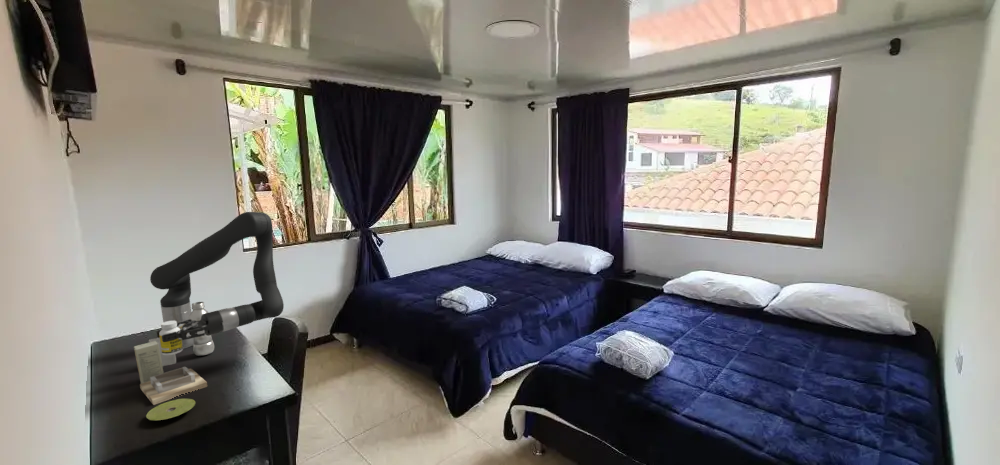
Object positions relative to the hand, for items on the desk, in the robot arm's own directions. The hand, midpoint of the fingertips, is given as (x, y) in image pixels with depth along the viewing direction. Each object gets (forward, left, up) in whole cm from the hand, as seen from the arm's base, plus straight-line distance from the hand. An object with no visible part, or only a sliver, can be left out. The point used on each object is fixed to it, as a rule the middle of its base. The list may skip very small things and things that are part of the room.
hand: (159, 336), depth 137 cm
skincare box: (-13, -1, -18) cm, 22 cm away
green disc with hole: (+19, -3, -18) cm, 26 cm away
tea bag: (-24, +5, -18) cm, 30 cm away
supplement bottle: (0, +3, -6) cm, 7 cm away
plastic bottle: (-22, +17, -18) cm, 33 cm away
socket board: (0, +2, -18) cm, 18 cm away
